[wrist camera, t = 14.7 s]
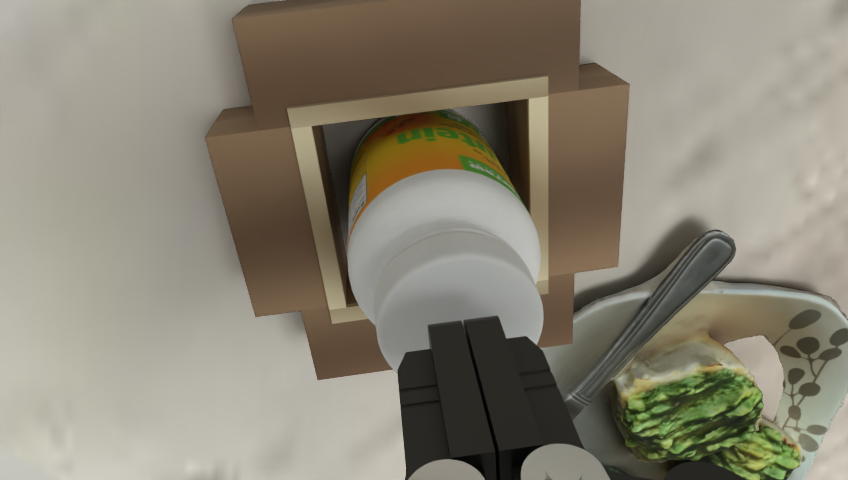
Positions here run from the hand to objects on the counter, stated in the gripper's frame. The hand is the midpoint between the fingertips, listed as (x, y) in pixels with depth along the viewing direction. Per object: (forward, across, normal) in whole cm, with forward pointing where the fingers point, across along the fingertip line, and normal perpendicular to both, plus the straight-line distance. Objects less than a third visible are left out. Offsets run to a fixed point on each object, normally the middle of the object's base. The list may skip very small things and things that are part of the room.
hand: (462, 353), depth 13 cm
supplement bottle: (+11, 0, 0) cm, 11 cm away
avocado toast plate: (+11, -10, +15) cm, 22 cm away
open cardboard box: (+11, 0, 0) cm, 11 cm away
